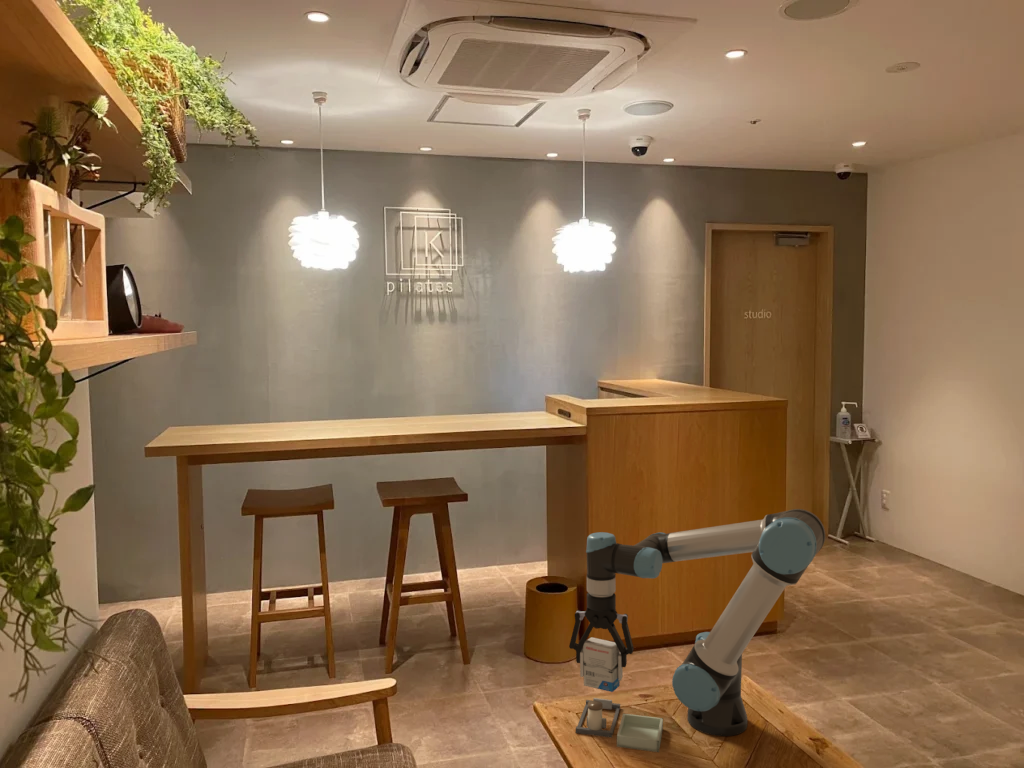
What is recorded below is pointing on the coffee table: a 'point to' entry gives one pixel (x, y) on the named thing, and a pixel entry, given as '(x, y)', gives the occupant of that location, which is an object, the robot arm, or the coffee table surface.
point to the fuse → (595, 715)
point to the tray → (640, 732)
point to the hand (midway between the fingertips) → (601, 676)
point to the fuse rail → (605, 733)
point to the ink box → (600, 664)
